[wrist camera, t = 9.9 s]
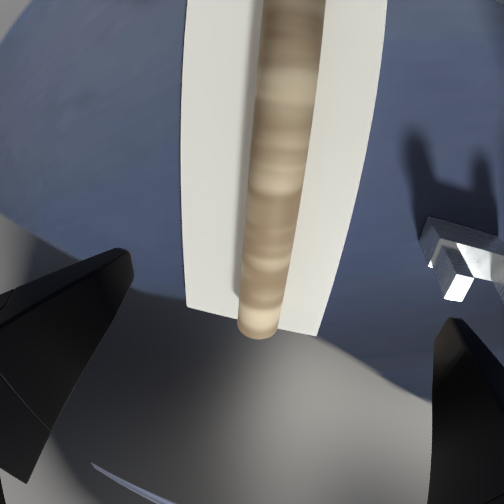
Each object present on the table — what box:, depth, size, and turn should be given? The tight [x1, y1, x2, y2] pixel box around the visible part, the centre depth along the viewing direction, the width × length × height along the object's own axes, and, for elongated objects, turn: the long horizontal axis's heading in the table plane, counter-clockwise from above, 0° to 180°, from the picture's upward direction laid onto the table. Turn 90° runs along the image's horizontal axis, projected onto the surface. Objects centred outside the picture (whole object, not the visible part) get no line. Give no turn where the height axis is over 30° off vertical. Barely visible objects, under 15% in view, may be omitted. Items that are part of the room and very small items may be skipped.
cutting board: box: [181, 0, 387, 336], centre depth 19 cm, size 25×11×1 cm, turn 175°
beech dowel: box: [237, 0, 326, 339], centre depth 17 cm, size 22×3×3 cm
